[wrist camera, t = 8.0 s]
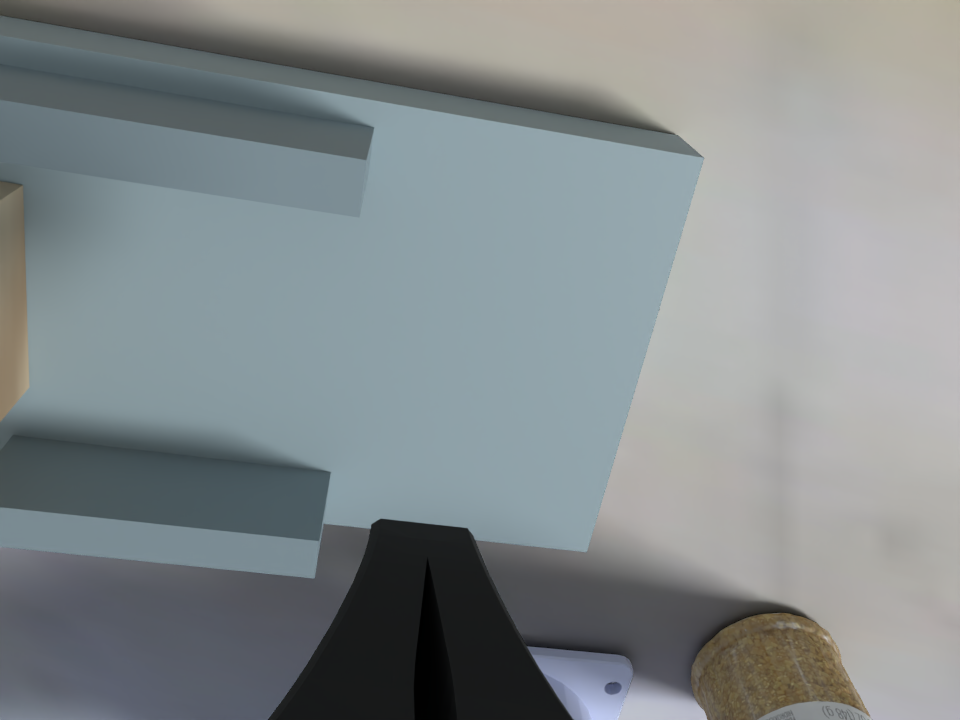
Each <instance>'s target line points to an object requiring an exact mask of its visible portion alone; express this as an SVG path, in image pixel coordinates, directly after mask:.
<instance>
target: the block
mask: <svg viewBox="0 0 960 720" xmlns="http://www.w3.org/2000/svg"><path fill="white" fill-rule="evenodd" d="M28 388H29V357H28V325H27V294H26V262H25V231H24V199H23V185H20V184H14V183H8V182H2V181H0V422H1V421H2V419H3V418H4V417H5V416H6V415H7V413H8V412H9V411H10V410H11V409H12V407H13V406H14V405H15V404H16V403H17V401H18V400H19V399H20V398H21V397H22V395H23V394H24V393H25V392H26V391H27V390H28Z"/></svg>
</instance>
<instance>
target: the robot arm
mask: <svg viewBox="0 0 960 720" xmlns="http://www.w3.org/2000/svg"><path fill="white" fill-rule="evenodd" d="M632 678H633V668H632V664H631V662H630V660H629V659H628V658H626V657H625V656H621V655H615V654H604V653H593V652H583V651H572V650H561V649H550V648H540V647H529V646H526V644H525V642H524V641H523V639H522V637H521V635H520V633H519V632H518V630H517V628H516V626H515V624H514V622H513V621H512V619H511V617H510V615H509V613H508V611H507V609H506V608H505V606H504V604H503V602H502V600H501V598H500V596H499V594H498V591H497V589H496V587H495V585H494V583H493V581H492V579H491V577H490V575H489V572H488V570H487V568H486V566H485V563H484V561H483V559H482V556H481V554H480V552H479V549H478V547H477V544H476V541H475V539H474V536H473V535H472V533H471V532H470V531H469V530H468V528H462V527H453V526H444V525H435V524H426V523H417V522H408V521H399V520H390V519H379V520H377V521H376V522H374V523H373V524H371V530H370V537H369V541H368V545H367V548H366V551H365V554H364V557H363V560H362V562H361V565H360V567H359V570H358V572H357V574H356V577H355V579H354V581H353V584H352V586H351V588H350V589H349V591H348V593H347V595H346V597H345V599H344V601H343V603H342V605H341V607H340V609H339V611H338V613H337V615H336V617H335V619H334V621H333V622H332V624H331V626H330V628H329V629H328V631H327V633H326V634H325V636H324V638H323V639H322V641H321V643H320V644H319V646H318V647H317V649H316V651H315V652H314V654H313V656H312V657H311V659H310V661H309V662H308V664H307V665H306V667H305V668H304V670H303V672H302V673H301V674H300V676H299V677H298V679H297V680H296V682H295V683H294V685H293V686H292V688H291V689H290V691H289V692H288V693H287V695H286V696H285V698H284V699H283V700H282V702H281V703H280V704H279V706H278V707H277V708H276V710H275V711H274V712H273V714H272V715H271V716H270V718H269V719H268V720H618V717H619V714H620V712H621V709H622V706H623V703H624V700H625V698H626V695H627V692H628V689H629V686H630V684H631V681H632ZM610 682H615V683H613V684H608V683H610Z"/></svg>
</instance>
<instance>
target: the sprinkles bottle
mask: <svg viewBox="0 0 960 720" xmlns="http://www.w3.org/2000/svg"><path fill="white" fill-rule="evenodd" d="M691 685H692V689H693V693H694V696H695V699H696V701H697V702H698V704H699V705H700V707H701V708H702V709H703V710H704V711H705V713H706V716H707V719H708V720H872V719H871V717H870V715H869V713H868V711H867V710H866V708H865V706H864V704H863V702H862V700H861V698H860V696H859V694H858V693H857V691H856V689H855V688H854V686H853V684H852V682H851V680H850V678H849V677H848V674H847V672H846V671H845V669H844V667H843V665H842V662H841V655H840V652H839V649H838V647H837V645H836V644H835V642H834V641H833V639H832V638H831V636H830V634H829V632H828V631H826V630H825V629H823V628H822V627H820V626H819V625H818V624H817V623H816V622H813V621H811V620H809V619H807V618H804V617H801V616H794V615H792V614H789V613H772V614H759V615H755V616H751V617H748V618H745V619H743V620H740V621H738V622H736V623H734V624H731V625H730V626H728V627H726V628H724V629H723V630H721V631H720V632H719V633H717V634H716V635H715V637H714V638H713V639H711V640H710V641H709V642H707V643H706V644H705V646H704V647H703V648H702V649H701V650H700V652H699V653H698V655H697V656H696V659H695V662H694V663H693V665H692V672H691Z"/></svg>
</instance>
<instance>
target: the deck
mask: <svg viewBox="0 0 960 720" xmlns="http://www.w3.org/2000/svg"><path fill="white" fill-rule="evenodd" d="M703 160H704V157H702V156H701V155H700V154H699V153H698V152H697V151H696V150H694V149H693V148H692V147H691V146H690V145H689V144H687V143H686V142H685V141H684V140H683V139H682V138H680V137H679V136H678V135H673V134H667V133H662V132H656V131H651V130H645V129H639V128H634V127H628V126H622V125H617V124H611V123H605V122H600V121H594V120H588V119H583V118H577V117H571V116H566V115H560V114H554V113H549V112H543V111H537V110H532V109H526V108H521V107H515V106H509V105H504V104H498V103H492V102H487V101H481V100H475V99H470V98H464V97H458V96H453V95H447V94H441V93H436V92H430V91H424V90H419V89H413V88H407V87H402V86H396V85H391V84H385V83H379V82H374V81H368V80H362V79H357V78H351V77H345V76H340V75H334V74H328V73H323V72H317V71H311V70H306V69H300V68H294V67H289V66H283V65H277V64H272V63H266V62H261V61H255V60H249V59H244V58H238V57H232V56H227V55H221V54H215V53H210V52H204V51H198V50H193V49H187V48H181V47H176V46H170V45H164V44H159V43H153V42H147V41H142V40H136V39H131V38H125V37H119V36H114V35H108V34H102V33H97V32H91V31H85V30H80V29H74V28H68V27H63V26H57V25H51V24H46V23H40V22H34V21H29V20H23V19H18V18H12V17H6V16H1V15H0V181H2V182H8V183H14V184H20V185H23V199H24V231H25V262H26V294H27V325H28V357H29V388H28V390H27V391H26V392H25V393H24V394H23V395H22V397H21V398H20V399H19V400H18V401H17V403H16V404H15V405H14V406H13V407H12V409H11V410H10V411H9V412H8V413H7V415H6V416H5V417H4V418H3V419H2V421H1V422H0V547H6V548H16V549H25V550H35V551H45V552H55V553H65V554H75V555H85V556H95V557H105V558H115V559H125V560H135V561H145V562H155V563H165V564H175V565H185V566H195V567H205V568H215V569H225V570H235V571H245V572H254V573H264V574H274V575H284V576H294V577H304V578H314V579H315V573H316V567H317V561H318V555H319V549H320V543H321V537H322V531H323V525H324V524H331V525H340V526H350V527H359V528H368V529H371V524H373V523H374V522H376V521H377V520H379V519H390V520H399V521H408V522H417V523H426V524H435V525H444V526H453V527H462V528H468V530H469V531H470V532H471V533H472V535H473V536H474V539H475V540H478V541H487V542H497V543H506V544H515V545H524V546H533V547H543V548H552V549H561V550H570V551H579V552H587V550H588V546H589V543H590V540H591V536H592V533H593V530H594V526H595V523H596V519H597V516H598V513H599V509H600V506H601V503H602V499H603V496H604V493H605V489H606V486H607V482H608V479H609V476H610V472H611V469H612V466H613V462H614V459H615V456H616V452H617V449H618V446H619V442H620V439H621V435H622V432H623V429H624V425H625V422H626V419H627V415H628V412H629V409H630V405H631V402H632V399H633V395H634V392H635V388H636V385H637V382H638V378H639V375H640V372H641V368H642V365H643V362H644V358H645V355H646V352H647V348H648V345H649V341H650V338H651V335H652V331H653V328H654V325H655V321H656V318H657V315H658V311H659V308H660V305H661V301H662V298H663V294H664V291H665V288H666V284H667V281H668V278H669V274H670V271H671V268H672V264H673V261H674V258H675V254H676V251H677V247H678V244H679V241H680V237H681V234H682V231H683V227H684V224H685V221H686V217H687V214H688V211H689V207H690V204H691V200H692V197H693V194H694V190H695V187H696V184H697V180H698V177H699V174H700V170H701V167H702V164H703Z"/></svg>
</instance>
